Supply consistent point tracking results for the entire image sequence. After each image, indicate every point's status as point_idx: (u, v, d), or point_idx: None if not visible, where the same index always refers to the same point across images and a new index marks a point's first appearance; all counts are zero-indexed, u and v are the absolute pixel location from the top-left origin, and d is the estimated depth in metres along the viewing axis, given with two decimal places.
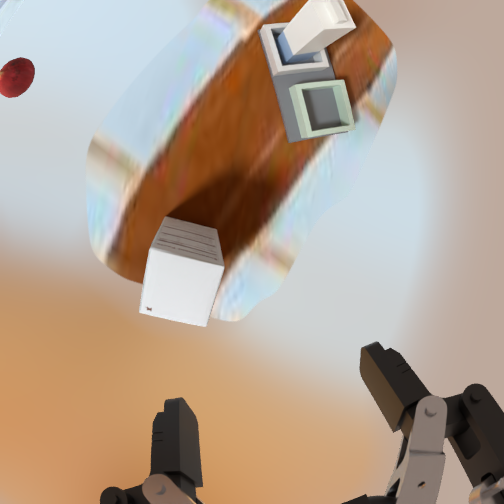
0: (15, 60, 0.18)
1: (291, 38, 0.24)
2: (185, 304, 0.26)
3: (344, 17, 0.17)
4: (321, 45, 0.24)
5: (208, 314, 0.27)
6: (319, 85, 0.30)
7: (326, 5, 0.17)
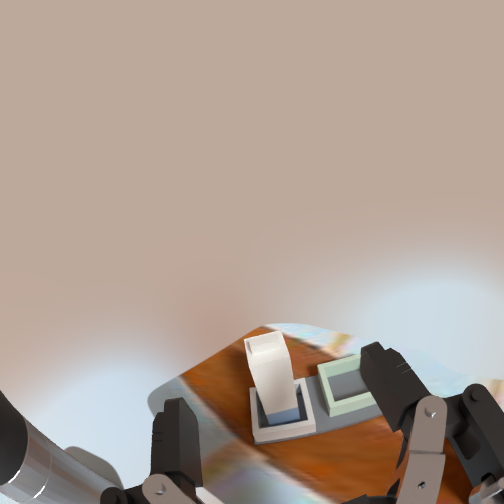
0: None
1: (279, 405, 0.26)
2: None
3: (273, 335, 0.24)
4: None
5: None
6: (328, 386, 0.30)
7: (256, 353, 0.24)
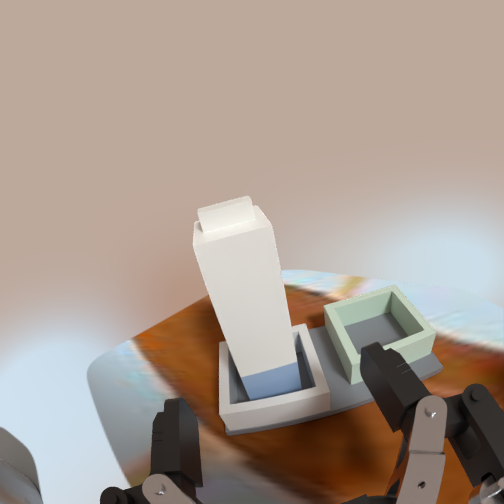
0: None
1: (262, 356, 0.15)
2: None
3: (242, 198, 0.14)
4: None
5: None
6: (343, 332, 0.20)
7: (210, 229, 0.13)
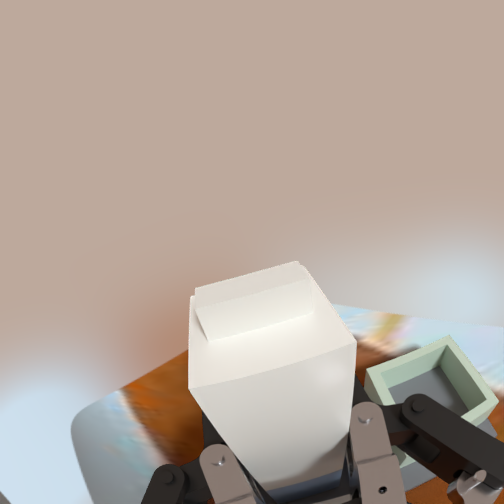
0: None
1: (298, 474, 0.08)
2: None
3: (286, 267, 0.07)
4: None
5: None
6: None
7: (222, 336, 0.06)
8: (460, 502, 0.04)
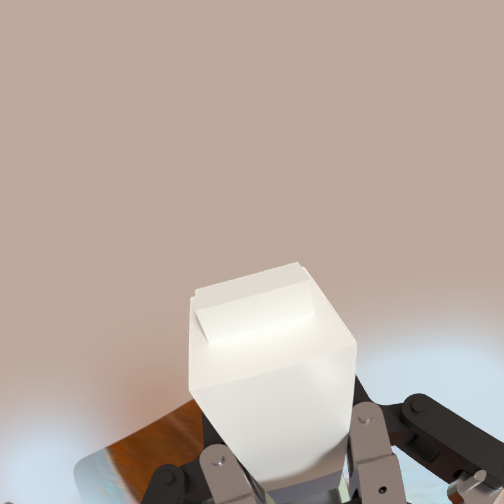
0: None
1: (299, 475, 0.08)
2: None
3: (286, 269, 0.07)
4: None
5: None
6: None
7: (222, 337, 0.06)
8: (461, 501, 0.04)
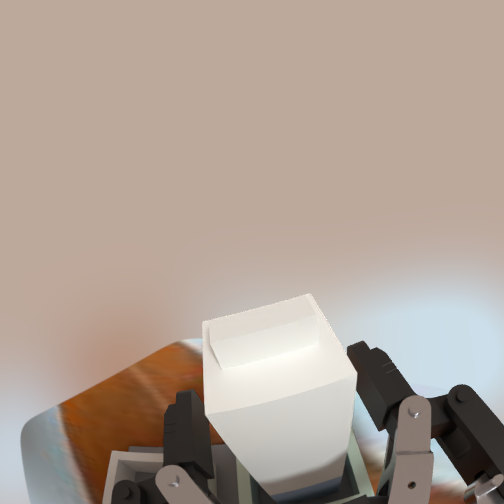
0: None
1: (301, 481, 0.09)
2: None
3: (294, 302, 0.07)
4: None
5: None
6: (246, 478, 0.12)
7: (235, 364, 0.07)
8: None
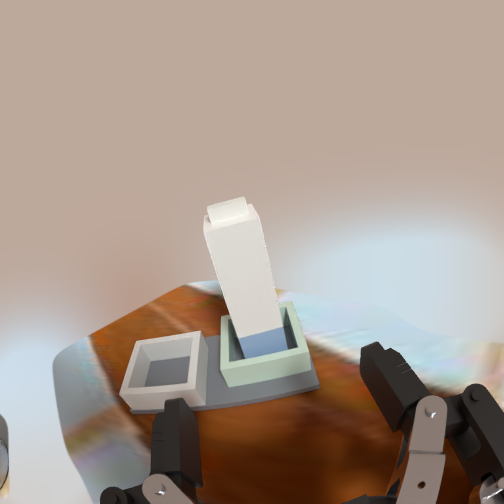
0: None
1: (254, 320, 0.21)
2: None
3: (239, 198, 0.19)
4: None
5: None
6: (226, 341, 0.23)
7: (216, 221, 0.18)
8: None
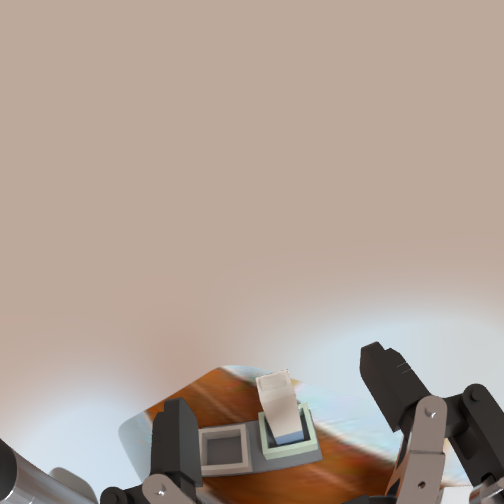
0: None
1: (285, 429, 0.29)
2: None
3: (281, 376, 0.27)
4: None
5: None
6: (264, 433, 0.31)
7: (266, 390, 0.27)
8: None
